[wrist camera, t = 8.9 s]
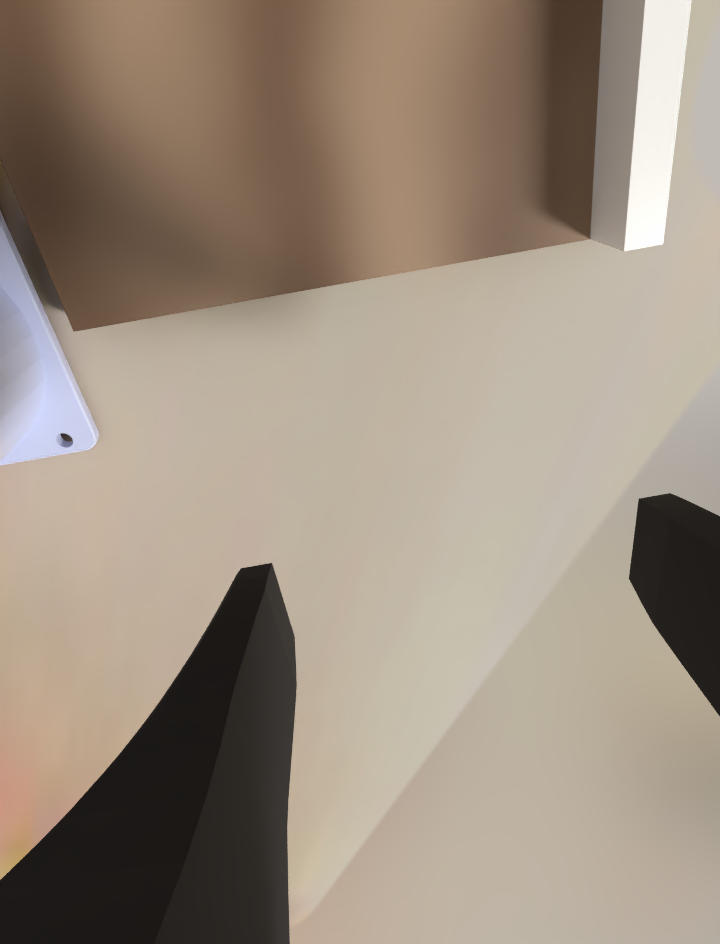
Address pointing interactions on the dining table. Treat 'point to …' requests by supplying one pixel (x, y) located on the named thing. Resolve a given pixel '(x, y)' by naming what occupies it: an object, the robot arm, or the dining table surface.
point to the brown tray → (327, 139)
